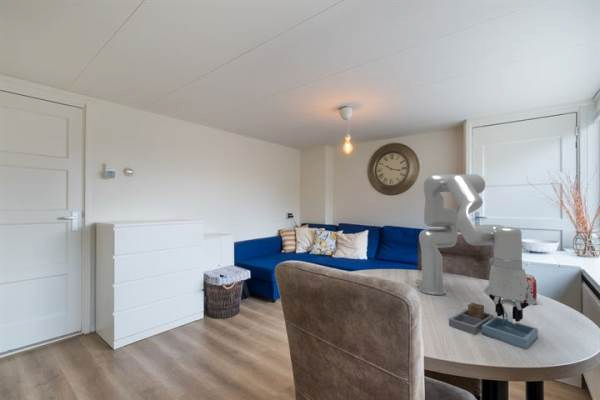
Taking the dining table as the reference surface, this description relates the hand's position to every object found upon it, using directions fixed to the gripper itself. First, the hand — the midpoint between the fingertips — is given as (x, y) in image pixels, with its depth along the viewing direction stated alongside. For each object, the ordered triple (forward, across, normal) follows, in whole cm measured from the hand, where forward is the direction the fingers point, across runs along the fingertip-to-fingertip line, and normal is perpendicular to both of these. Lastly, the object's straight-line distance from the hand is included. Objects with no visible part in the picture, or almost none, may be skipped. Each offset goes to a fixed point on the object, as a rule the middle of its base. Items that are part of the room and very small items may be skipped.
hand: (508, 317), depth 90 cm
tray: (+6, 0, 0) cm, 6 cm away
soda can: (+6, -6, +42) cm, 43 cm away
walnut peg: (+6, -11, +4) cm, 14 cm away
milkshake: (+4, 0, 0) cm, 4 cm away
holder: (+6, -11, 0) cm, 13 cm away
